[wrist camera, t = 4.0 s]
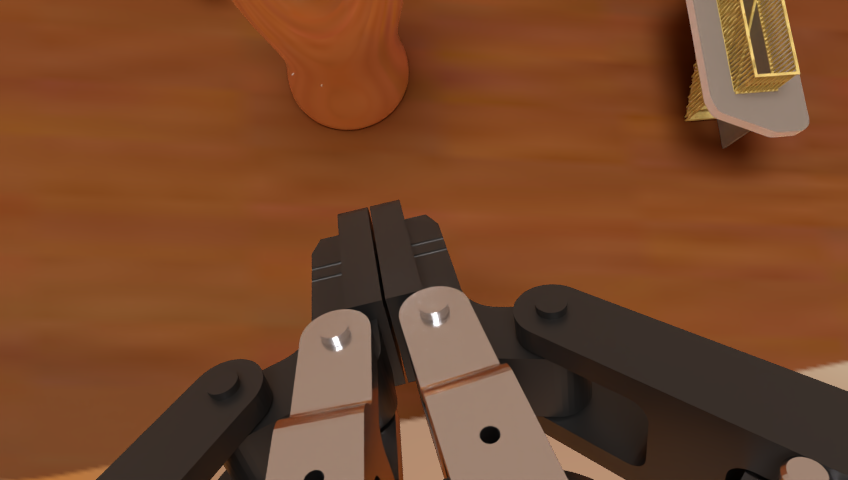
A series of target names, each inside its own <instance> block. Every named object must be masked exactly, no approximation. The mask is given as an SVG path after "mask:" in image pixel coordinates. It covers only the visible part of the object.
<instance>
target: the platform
mask: <svg viewBox="0 0 848 480" xmlns="http://www.w3.org/2000/svg"><path fill="white" fill-rule="evenodd" d="M686 4H687V10H688V15H689V21H690V26H691V32H692V38H693V43H694V49H695V56H696V63H695V64H694V65H693V67H695V69H694V74H693V75H692V76H691V77H693V79H692V81H693V82H692V85H691V86H690V87H689V88H691V90H690V91H691V92H690V95H689V96H688V98H689V100H688V102H689V104H688V105H687V106H686V108H688V109H687V110H686V111H688V112H687V114H686V115H685V116H684V118H687V119H685V121H696V120H709V119H717V121H718V127H719V132H720V138H721V143H722V148H726V147H728V146H729V145H731V144H732V143H734V142H735V141H737V140H738V139H740V138H741V137H742V136H744V135H745V134H747V133H748V132H750V131H753V132H756V133H759V134H761V135H764V136H767V137H783V136H793V135H796V134H798V133H799V132H801V131H803V130H804V129H806V128H807V127H808V125H809V116H808V112H807V107H806V102H805V98H804V93H803V89H802V84H801V79H800V70H799V65H798V61H797V56H796V52H795V47H794V42H793V38H792V33H791V29H790V24H789V19H788V15H787V10H786V5H785V1H784V0H686ZM699 80H700V81H699ZM700 110H703V111H700Z"/></svg>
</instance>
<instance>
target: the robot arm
mask: <svg viewBox="0 0 848 480" xmlns="http://www.w3.org/2000/svg"><path fill="white" fill-rule="evenodd" d="M370 211H371V217H372V221H371V217H370V213H369V210H368V208H362V209H358V210H354V211H350V212H346V213H341V214H338V229H339V235H338V236H334V237H330V238H325V239H321V240H320V242H319V243H318V245H317V247H316V248H315V250H314V251H313V253H312V282H313V283H312V322H311V323H310V324H309V325H308V326H307V327H306V328H305V330H304V331H303V333H302V335H301V338H300V343H299V349H298V350H297V351H296V352H295V353H293V354H292V355H291V356H289V357H288V358H286V359H284V360H282V361H280V362H278V363H276V364H274V365H272V366H270V367H268V368H266V369H264V370H262V369H261V368H260V366H259V365H258V364H256V363H255V362H253V361H250V360H245V359H237V360H231V361H227V362H224V363H221V364H219V365H217V366H215V367H213V368H211V369H210V370H208V371H207V372H205V373H204V374H203V375H202V376H201V377H199V378H198V379H197V380H196V381H195V382H194V383H193V384H192V385H191V386H190V387H189V388H188V389H187V390H186V391H185V392H184V393H183V394H182V395H181V396H180V397H179V398H178V399H177V400H176V401H175V402H174V403H173V404H172V405H171V406H170V407H169V408H168V409H167V410H166V411H165V412H164V413H163V414H162V415H161V416H160V417H159V418H158V419H157V420H156V421H155V422H154V423H153V424H152V425H151V426H150V427H149V428H148V429H147V430H146V431H145V432H144V433H143V434H142V435H141V436H140V437H139V438H138V439H137V440H136V441H135V442H134V443H133V444H132V445H131V446H130V447H129V448H128V449H127V450H126V451H125V452H124V453H123V454H122V455H121V456H120V457H119V458H118V459H117V460H116V461H115V462H114V463H113V464H112V465H111V466H109V467H108V468H107V469H106V470H105V471H104V473H102V475H100V476H99V477H98V478H97V479H96V480H210V479H211V478H212V477H213V476H214V475H215V474H216V473H217V471H218V470H219V469H220V468H221V467H222V465H224V467H225V468H226V471H225V472H224V473H223V474H222V476H221V477H220V478H219V479H218V480H403V468H402V452H401V436H400V421H399V415H398V411H397V396H396V390H395V386H397V385H402V384H406V383H405V377H404V372H403V366H402V361H401V357H402V360H403V364H404V368H405V371H406V375H407V378H408V382H413V381H416V383H417V387H418V391H419V394H420V398H421V402H422V406H423V409H424V413H425V416H426V420H427V423H428V426H429V429H430V433H431V436H432V439H433V443H434V446H435V449H436V452H437V456H438V459H439V462H440V465H441V469H442V472H443V475H444V480H593V479H591V478H588V477H586V476H583V475H580V474H577V473H573V472H569V471H564V470H563V469H562V467H561V465H560V463H559V461H558V459H557V457H556V455H555V453H554V451H553V449H552V447H551V445H550V443H549V441H548V439H547V437H546V435H545V434H547V435H549V436H550V437H552V438H554V439H556V440H557V441H559V442H561V443H563V444H564V445H566V446H568V447H570V448H571V449H573V450H575V451H577V452H578V453H581V454H582V455H584V456H585V457H587V458H589V459H590V460H592V461H594V462H596V463H597V464H599V465H601V466H603V467H604V468H606V469H608V470H610V471H611V472H613V473H615V474H617V475H618V476H620V477H622V478H624V479H625V480H848V391H845V390H842V389H840V388H837V387H835V386H832V385H829V384H826V383H824V382H821V381H819V380H816V379H813V378H811V377H808V376H805V375H803V374H800V373H797V372H795V371H792V370H789V369H787V368H784V367H781V366H779V365H776V364H773V363H771V362H768V361H765V360H763V359H760V358H757V357H755V356H752V355H749V354H747V353H744V352H741V351H739V350H736V349H733V348H731V347H728V346H725V345H723V344H720V343H717V342H715V341H712V340H709V339H707V338H704V337H701V336H699V335H696V334H693V333H691V332H688V331H685V330H683V329H680V328H677V327H675V326H672V325H669V324H667V323H664V322H661V321H659V320H656V319H653V318H651V317H648V316H645V315H643V314H640V313H637V312H635V311H632V310H629V309H627V308H624V307H621V306H619V305H616V304H613V303H611V302H608V301H605V300H603V299H600V298H597V297H595V296H592V295H589V294H587V293H584V292H581V291H579V290H576V289H573V288H571V287H567V286H563V285H542V286H538V287H534V288H532V289H530V290H528V291H526V292H524V293H523V294H522V295H521V296H520V297H519V298H518V299H517V300H516V302H515V304H514V307H490V306H484V305H481V304H478V303H475V302H473V301H472V300H470V299H469V298H468V297H467V296H466V295H465V294H464V293H463V292H462V290H461V288H460V285H459V282H458V279H457V276H456V273H455V271H454V268H453V265H452V262H451V259H450V256H449V253H448V251H447V248H446V245H445V242H444V239H443V236H442V234H441V231H440V228H439V225H438V223H436V222H435V221H434V220H432V219H431V218H429V217H428V216H427V215H422V216H417V217H413V218H409V219H405V220H404V216H403V212H402V208H401V205H400V201H399V200H396V201H392V202H387V203H383V204H379V205H375V206H370ZM372 223H373V224H372ZM400 353H401V355H400Z"/></svg>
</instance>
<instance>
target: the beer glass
mask: <svg viewBox="0 0 848 480" xmlns="http://www.w3.org/2000/svg"><path fill="white" fill-rule="evenodd" d="M231 1H232V2H233V3H234V4H235V5H236V7H237V8H238V9H239V10H240V12H241V13H242V14H243V15H244V17H245V18H246V19H247V20H248V22H249V23H250V24H251V25H252V26H253V27H254V28H255V29H256V30H257V31H258V32H259V33H260V35H261V36H262V37H263V38H264V39H265V40H266V41H267V42H268V43H269V44H270V45H271V46H272V47H273V48H274V49H275V50H276V51H277V52H278V53H279V54H280V56H281V57H282V58H283V59H284V61H285V62H286V68H287V76H288V82H289V86H290V90H291V92H292V95H293V97H294V99H295V101H296V103H297V104H298V106H299V107H300V108H301V109H302V111H303V112H304V113H305V114H307V115H308V116H309V117H310V118H312V119H313V120H315V121H316V122H318V123H320V124H322V125H324V126H327V127H330V128H334V129H339V130H355V129H361V128H365V127H368V126H371V125H374V124H376V123H378V122H380V121H381V120H383V119H384V118H386V117H387V116H388V115H389V114H390V113H392V112H393V111H394V109H395V108H396V107H397V106H398V104H399V103H400V101H401V100H402V98H403V96H404V94H405V91H406V88H407V85H408V80H409V65H408V59H407V55H406V52H405V49H404V47H403V45H402V42H401V40H400V38H399V36H398V24H399V19H400V15H401V11H402V7H403V2H404V0H231Z"/></svg>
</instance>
